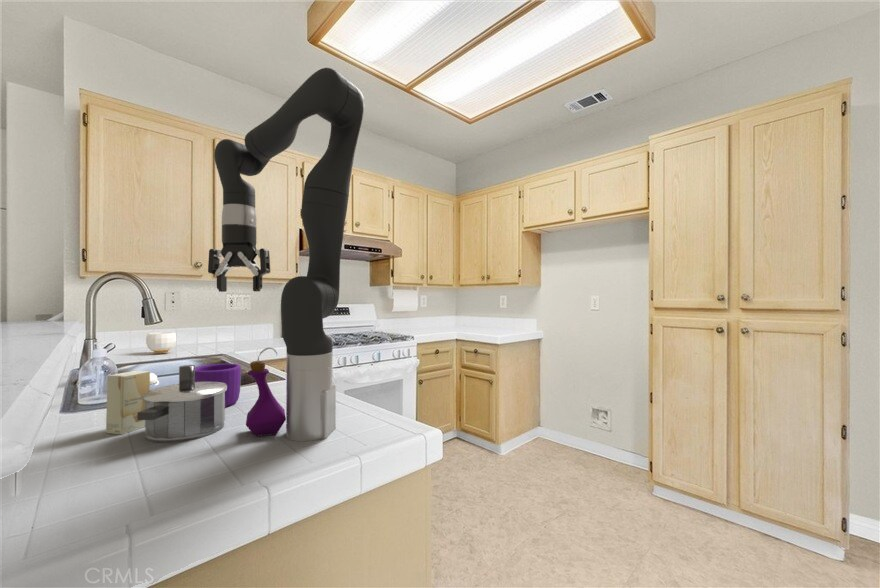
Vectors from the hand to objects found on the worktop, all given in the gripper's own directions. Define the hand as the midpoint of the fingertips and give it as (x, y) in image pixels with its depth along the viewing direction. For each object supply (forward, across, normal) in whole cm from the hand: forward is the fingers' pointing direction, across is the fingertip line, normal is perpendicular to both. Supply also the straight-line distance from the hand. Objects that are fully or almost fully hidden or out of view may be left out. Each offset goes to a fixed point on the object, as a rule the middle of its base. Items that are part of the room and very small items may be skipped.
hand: (239, 291), depth 93 cm
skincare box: (+30, +18, +11) cm, 37 cm away
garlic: (+30, +48, -28) cm, 63 cm away
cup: (+30, +96, -96) cm, 138 cm away
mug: (+30, +13, -10) cm, 34 cm away
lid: (+23, +5, +12) cm, 26 cm away
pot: (+30, +5, +12) cm, 32 cm away
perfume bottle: (+30, -12, +12) cm, 35 cm away
